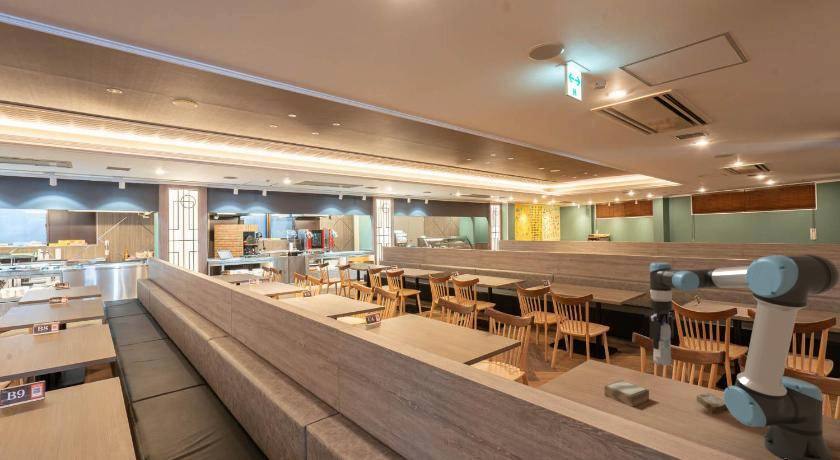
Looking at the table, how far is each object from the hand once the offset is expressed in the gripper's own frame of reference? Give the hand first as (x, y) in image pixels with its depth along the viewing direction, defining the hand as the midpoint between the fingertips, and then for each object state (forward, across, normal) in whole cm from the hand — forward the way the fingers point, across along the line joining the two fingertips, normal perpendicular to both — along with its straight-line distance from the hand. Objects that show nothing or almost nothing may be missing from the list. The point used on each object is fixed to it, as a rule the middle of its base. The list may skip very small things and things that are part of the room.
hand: (662, 354), depth 158 cm
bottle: (+4, 0, 0) cm, 4 cm away
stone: (+19, -12, +13) cm, 26 cm away
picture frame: (+19, +11, -9) cm, 24 cm away
